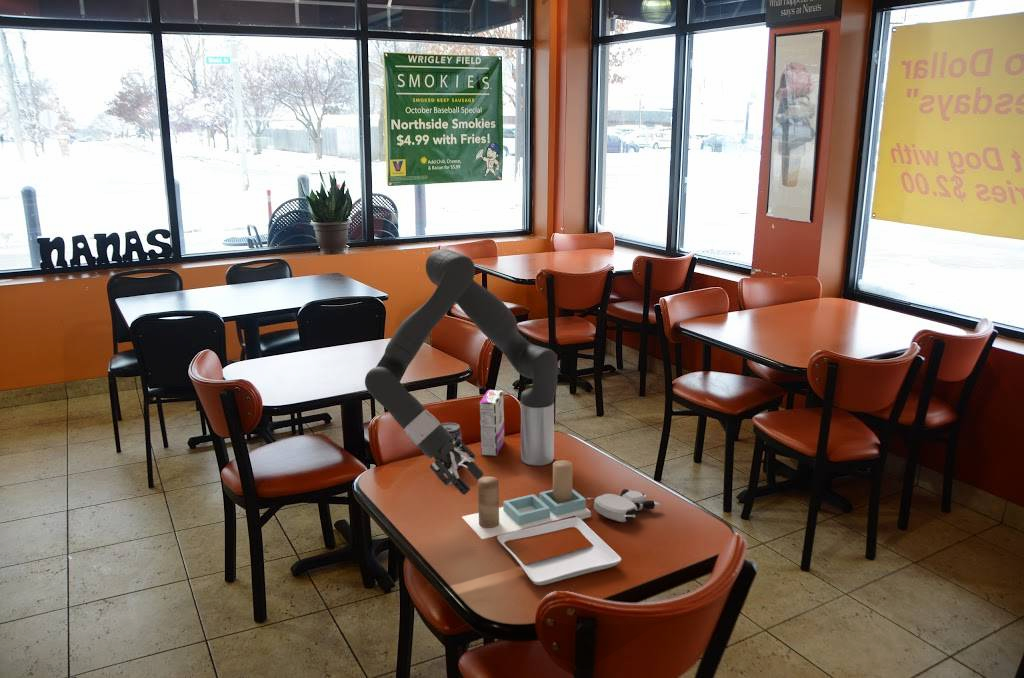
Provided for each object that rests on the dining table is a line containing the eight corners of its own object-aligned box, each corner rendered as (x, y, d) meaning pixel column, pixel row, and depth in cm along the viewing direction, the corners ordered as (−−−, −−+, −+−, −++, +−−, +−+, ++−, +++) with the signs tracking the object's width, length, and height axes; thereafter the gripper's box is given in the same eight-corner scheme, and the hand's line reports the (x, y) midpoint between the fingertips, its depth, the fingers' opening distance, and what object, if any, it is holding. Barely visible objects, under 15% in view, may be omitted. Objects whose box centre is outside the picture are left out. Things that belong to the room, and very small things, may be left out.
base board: (461, 522, 197) (460, 474, 193) (566, 496, 209) (566, 451, 206) (482, 545, 186) (481, 495, 183) (590, 516, 199) (591, 469, 195)
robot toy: (625, 498, 210) (584, 513, 200) (626, 482, 209) (585, 496, 199) (662, 515, 201) (621, 531, 191) (664, 498, 200) (623, 513, 190)
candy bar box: (488, 440, 245) (487, 389, 241) (505, 441, 244) (504, 390, 240) (480, 455, 235) (478, 402, 230) (496, 456, 234) (496, 403, 229)
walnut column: (475, 521, 194) (474, 478, 191) (493, 516, 196) (493, 474, 193) (484, 530, 190) (483, 486, 187) (502, 525, 192) (501, 482, 189)
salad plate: (534, 596, 167) (534, 581, 166) (495, 547, 186) (495, 534, 185) (623, 573, 175) (624, 558, 174) (577, 528, 194) (577, 515, 193)
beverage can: (461, 472, 224) (460, 431, 221) (436, 472, 224) (434, 431, 221) (463, 461, 231) (462, 421, 228) (438, 461, 231) (437, 422, 228)
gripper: (425, 435, 184) (473, 488, 183) (449, 413, 197) (495, 463, 196) (404, 454, 187) (452, 506, 187) (430, 431, 200) (475, 480, 199)
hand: (474, 484), depth 191 cm, fingers open, 8 cm apart
